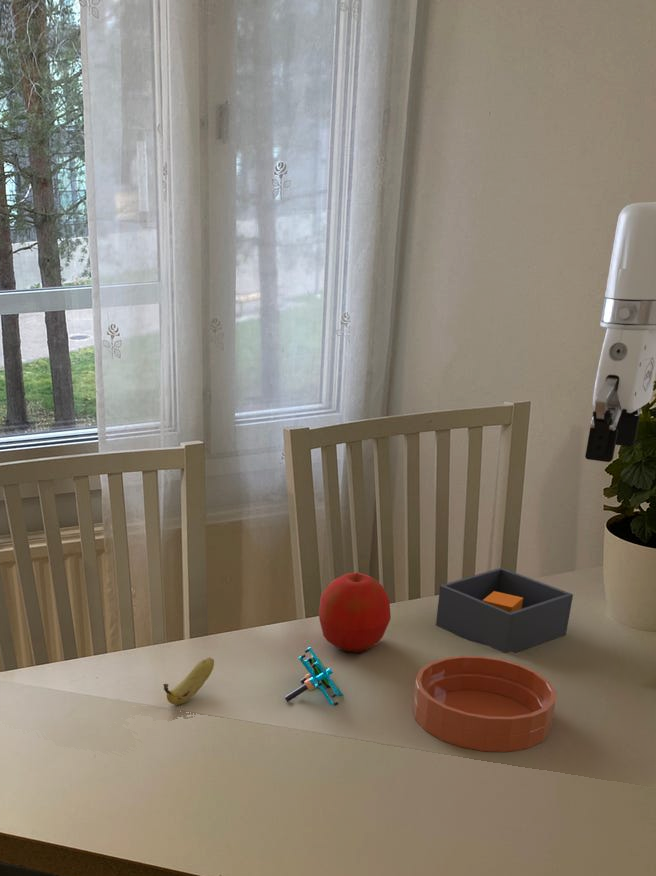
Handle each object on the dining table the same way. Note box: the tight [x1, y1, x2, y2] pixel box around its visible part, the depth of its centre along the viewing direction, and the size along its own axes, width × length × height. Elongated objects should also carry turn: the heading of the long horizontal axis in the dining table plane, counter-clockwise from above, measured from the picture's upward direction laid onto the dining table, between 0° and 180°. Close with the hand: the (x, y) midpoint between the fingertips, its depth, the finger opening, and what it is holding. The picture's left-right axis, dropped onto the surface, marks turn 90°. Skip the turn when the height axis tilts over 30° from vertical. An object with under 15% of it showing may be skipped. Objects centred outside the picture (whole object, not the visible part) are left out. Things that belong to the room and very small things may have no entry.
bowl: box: [412, 655, 557, 753], centre depth 112 cm, size 16×16×5 cm
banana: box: [163, 657, 215, 706], centre depth 119 cm, size 10×2×4 cm, turn 141°
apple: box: [318, 572, 391, 653], centre depth 131 cm, size 10×10×12 cm
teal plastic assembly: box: [284, 646, 345, 706], centre depth 120 cm, size 12×7×8 cm
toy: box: [482, 591, 523, 613], centre depth 136 cm, size 4×4×4 cm
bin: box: [435, 567, 574, 654], centre depth 135 cm, size 13×13×6 cm
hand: (609, 452), depth 119 cm, fingers open, 9 cm apart
